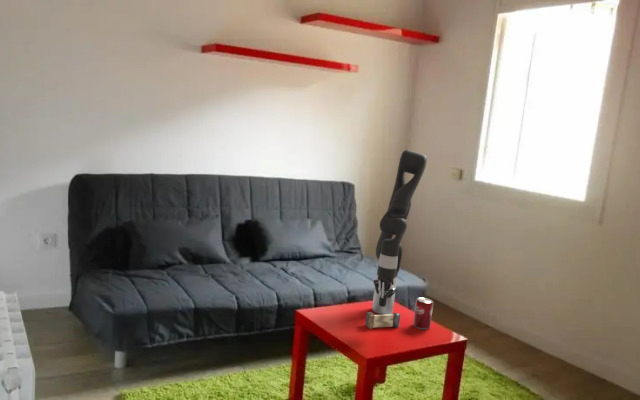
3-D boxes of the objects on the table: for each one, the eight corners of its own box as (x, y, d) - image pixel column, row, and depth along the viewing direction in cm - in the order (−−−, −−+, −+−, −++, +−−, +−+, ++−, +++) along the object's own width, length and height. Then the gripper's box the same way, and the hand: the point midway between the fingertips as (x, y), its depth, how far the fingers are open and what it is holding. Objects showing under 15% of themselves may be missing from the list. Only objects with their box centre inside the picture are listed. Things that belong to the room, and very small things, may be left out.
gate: (390, 325, 241) (392, 313, 240) (392, 327, 239) (394, 314, 238) (367, 327, 236) (369, 314, 235) (369, 328, 234) (371, 316, 234)
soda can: (416, 329, 239) (420, 302, 238) (410, 323, 246) (414, 297, 245) (432, 330, 241) (436, 303, 239) (426, 323, 248) (429, 297, 246)
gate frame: (364, 324, 239) (366, 311, 239) (397, 325, 242) (398, 312, 242) (366, 327, 236) (368, 314, 236) (399, 327, 240) (401, 315, 239)
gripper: (405, 269, 224) (399, 311, 227) (385, 260, 235) (379, 299, 238) (390, 270, 220) (384, 312, 223) (370, 260, 231) (365, 301, 234)
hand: (381, 305), depth 230 cm, fingers closed
